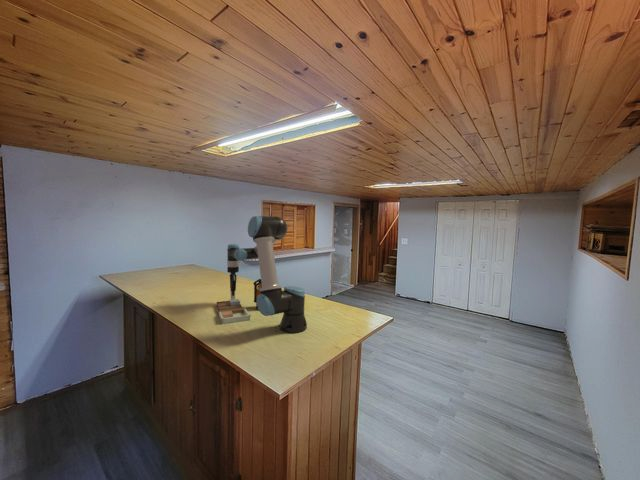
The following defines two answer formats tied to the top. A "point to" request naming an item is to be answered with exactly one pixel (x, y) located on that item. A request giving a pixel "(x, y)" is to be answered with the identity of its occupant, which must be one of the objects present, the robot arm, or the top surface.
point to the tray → (235, 317)
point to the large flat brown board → (229, 307)
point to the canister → (257, 290)
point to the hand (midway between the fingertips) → (232, 299)
